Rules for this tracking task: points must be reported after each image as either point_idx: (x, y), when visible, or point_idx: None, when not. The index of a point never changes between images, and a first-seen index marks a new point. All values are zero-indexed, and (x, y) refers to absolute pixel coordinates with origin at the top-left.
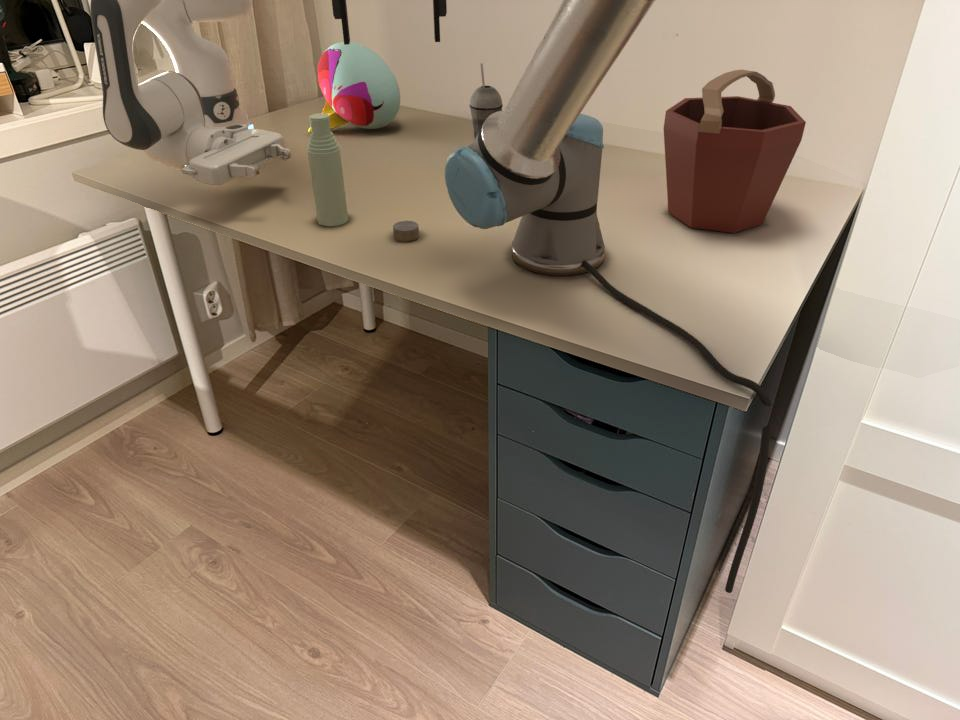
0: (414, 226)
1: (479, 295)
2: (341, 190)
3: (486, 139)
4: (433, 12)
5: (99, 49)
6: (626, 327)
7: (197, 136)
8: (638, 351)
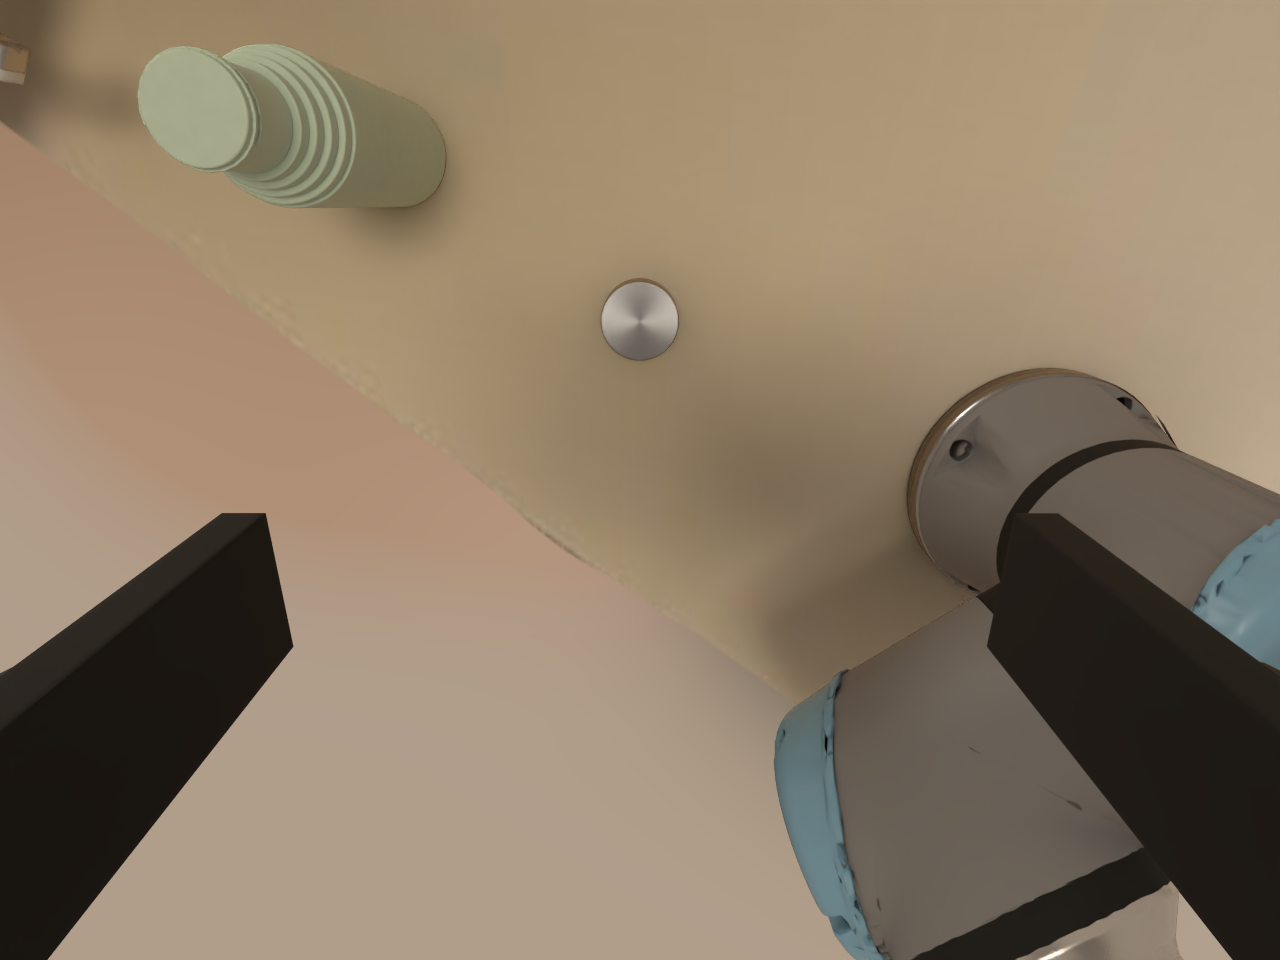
0: (666, 331)
1: (790, 640)
2: (407, 178)
3: None
4: (1155, 665)
5: None
6: None
7: None
8: None
